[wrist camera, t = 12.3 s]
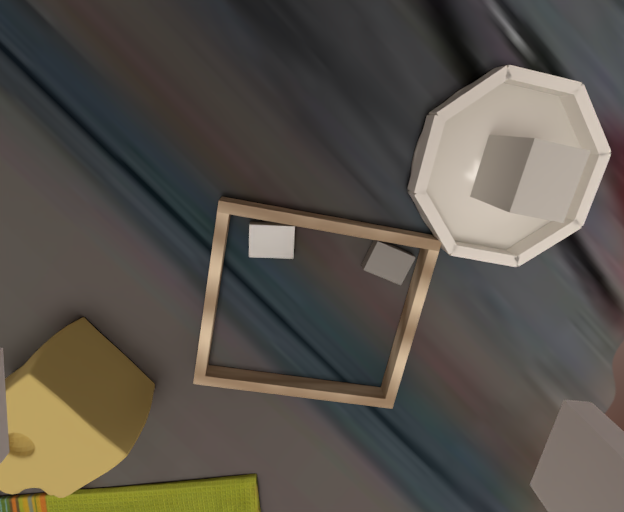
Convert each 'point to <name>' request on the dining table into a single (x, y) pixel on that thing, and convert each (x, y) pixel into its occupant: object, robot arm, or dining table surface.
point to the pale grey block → (529, 176)
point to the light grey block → (271, 240)
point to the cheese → (72, 412)
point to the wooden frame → (303, 385)
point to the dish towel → (149, 498)
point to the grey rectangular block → (388, 261)
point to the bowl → (469, 150)
